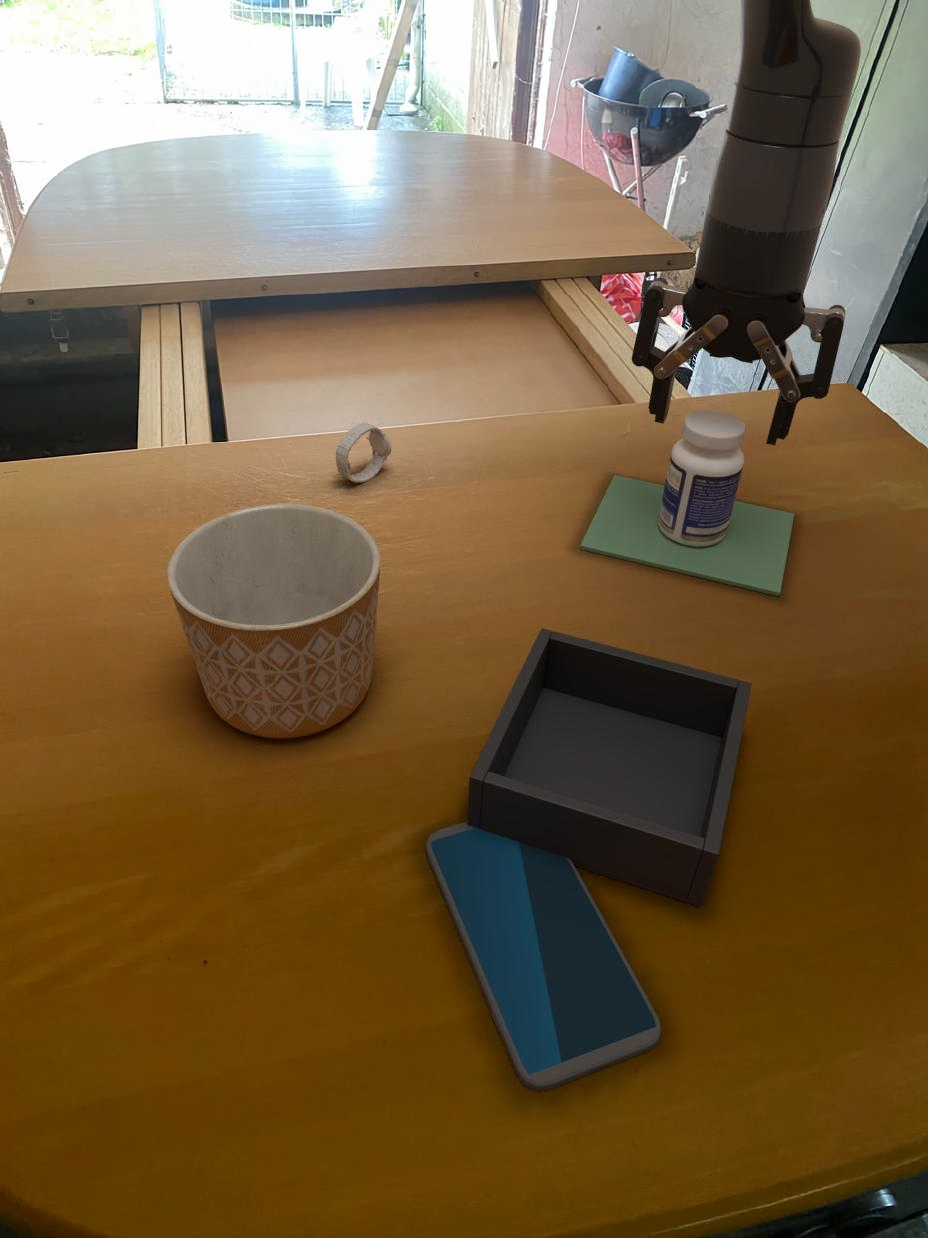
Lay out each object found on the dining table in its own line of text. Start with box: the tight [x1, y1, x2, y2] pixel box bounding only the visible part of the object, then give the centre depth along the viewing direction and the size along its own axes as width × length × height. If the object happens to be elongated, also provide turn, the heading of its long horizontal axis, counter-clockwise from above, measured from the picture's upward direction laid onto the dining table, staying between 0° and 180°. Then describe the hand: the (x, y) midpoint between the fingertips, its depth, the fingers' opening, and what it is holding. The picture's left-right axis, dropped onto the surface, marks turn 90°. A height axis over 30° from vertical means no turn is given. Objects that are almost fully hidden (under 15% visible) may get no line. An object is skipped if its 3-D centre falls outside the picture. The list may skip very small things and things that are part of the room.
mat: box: [579, 474, 795, 597], centre depth 77 cm, size 16×12×1 cm
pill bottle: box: [658, 409, 747, 547], centre depth 74 cm, size 6×6×10 cm
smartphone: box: [425, 821, 662, 1092], centre depth 48 cm, size 8×15×1 cm, turn 21°
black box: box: [466, 627, 753, 908], centre depth 55 cm, size 14×14×5 cm
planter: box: [166, 503, 382, 739], centre depth 59 cm, size 13×13×10 cm
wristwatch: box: [335, 422, 392, 483], centre depth 81 cm, size 3×5×5 cm, turn 139°
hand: (715, 429), depth 71 cm, fingers open, 8 cm apart
